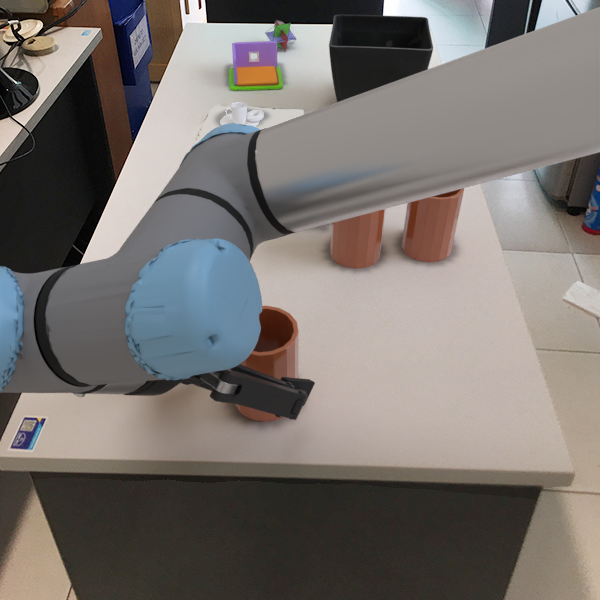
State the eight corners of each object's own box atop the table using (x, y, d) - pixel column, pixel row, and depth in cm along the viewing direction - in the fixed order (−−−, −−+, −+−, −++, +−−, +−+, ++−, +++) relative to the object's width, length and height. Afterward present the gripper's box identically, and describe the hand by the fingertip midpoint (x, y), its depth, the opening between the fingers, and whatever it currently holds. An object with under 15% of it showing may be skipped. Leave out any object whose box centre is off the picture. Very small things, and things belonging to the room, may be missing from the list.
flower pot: (331, 91, 139) (334, 11, 128) (417, 95, 138) (427, 15, 127) (325, 131, 125) (328, 45, 114) (421, 136, 124) (433, 49, 113)
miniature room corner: (228, 70, 148) (226, 40, 143) (279, 68, 149) (279, 38, 144) (229, 91, 139) (227, 60, 134) (283, 89, 140) (283, 58, 135)
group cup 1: (384, 271, 93) (393, 202, 85) (335, 276, 92) (339, 206, 84) (373, 241, 98) (380, 174, 90) (326, 245, 97) (329, 177, 89)
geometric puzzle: (303, 44, 154) (294, 11, 153) (278, 49, 152) (268, 15, 151) (292, 54, 161) (283, 23, 160) (268, 59, 159) (258, 27, 157)
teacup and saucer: (266, 116, 130) (265, 97, 127) (260, 134, 124) (259, 114, 121) (224, 114, 131) (222, 95, 128) (216, 131, 125) (215, 112, 122)
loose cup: (301, 423, 72) (302, 351, 64) (237, 430, 71) (229, 358, 63) (293, 375, 78) (293, 302, 69) (232, 381, 77) (225, 308, 69)
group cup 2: (456, 265, 94) (471, 197, 86) (408, 269, 93) (419, 200, 85) (441, 236, 99) (454, 169, 91) (395, 240, 98) (404, 172, 90)
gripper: (12, 323, 55) (161, 344, 74) (225, 472, 44) (336, 452, 63) (47, 245, 55) (188, 286, 74) (271, 377, 44) (368, 385, 63)
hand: (256, 363), depth 68 cm, fingers open, 13 cm apart
